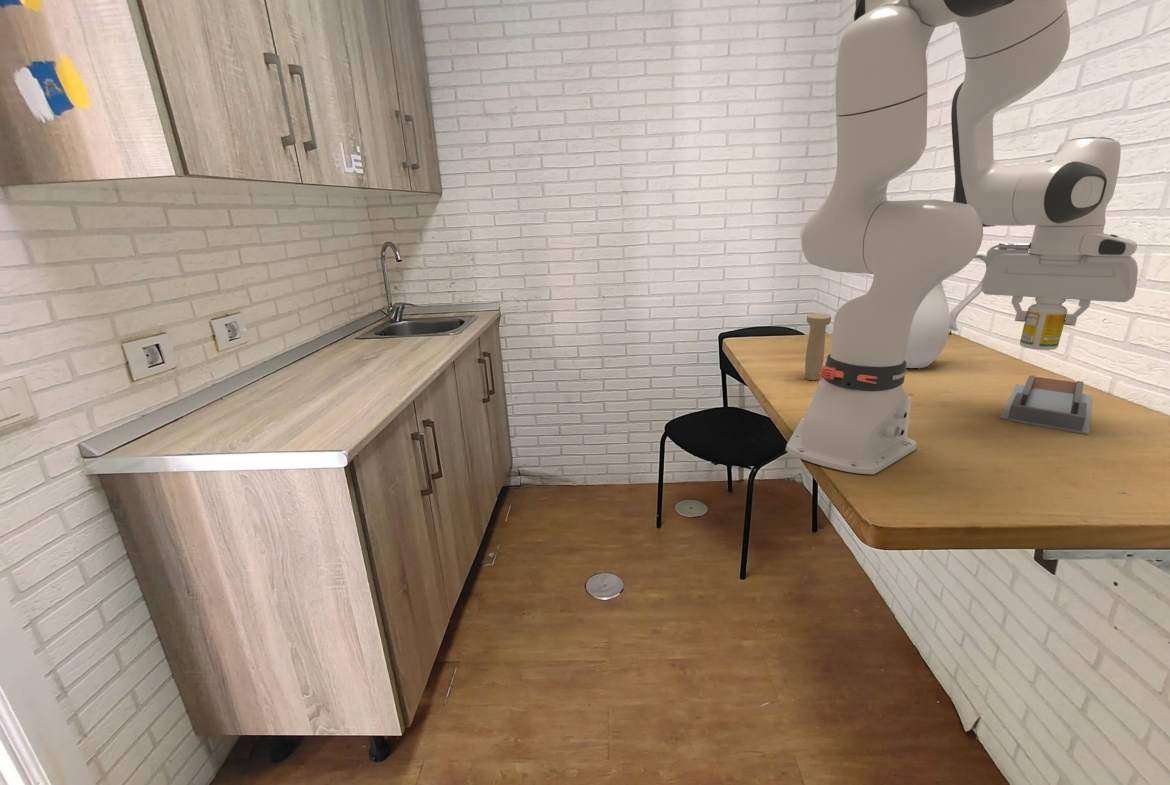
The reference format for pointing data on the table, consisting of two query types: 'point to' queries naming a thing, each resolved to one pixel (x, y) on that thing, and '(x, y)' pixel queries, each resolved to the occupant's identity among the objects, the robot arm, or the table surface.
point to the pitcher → (934, 324)
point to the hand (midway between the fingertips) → (1044, 323)
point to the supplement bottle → (1044, 323)
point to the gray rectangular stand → (1050, 404)
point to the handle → (816, 345)
